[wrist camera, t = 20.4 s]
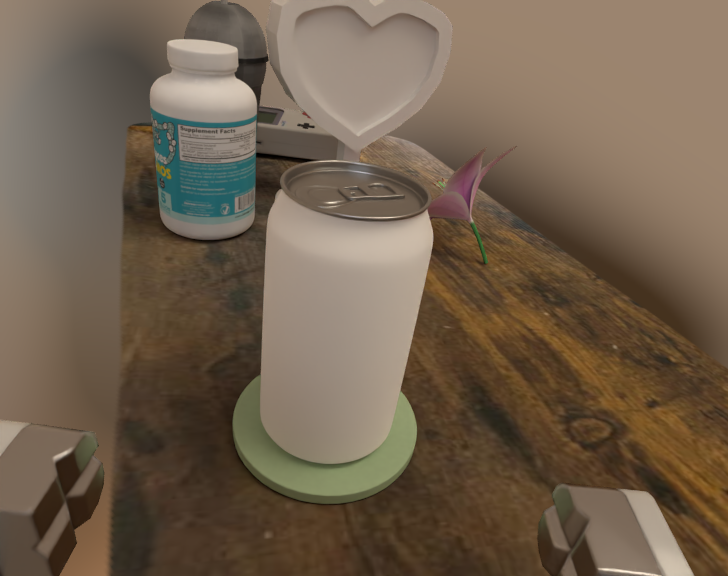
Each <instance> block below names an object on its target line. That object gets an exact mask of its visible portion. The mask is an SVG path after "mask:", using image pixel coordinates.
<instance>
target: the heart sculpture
mask: <svg viewBox="0 0 728 576" xmlns="http://www.w3.org/2000/svg"><path fill="white" fill-rule="evenodd" d="M452 27H453V26H452V25H451V23H450V21H449V20H448V18H447V17H446V15H445V14H444V13H443V12H442V11H440V10H439V9H437V8H435V7H434V6H432V5H431V4H429V3H427V2H424V1H422V0H272V1H271V3H270V9H269V14H268V20H267V26H266V33H267V41H268V49H269V58H270V64H271V66H272V68H273V70H274V72H275V74H276V76H277V78H278V79H279V81H280V83H281V85H282V86H283V89H284V91H285V93H286V94H287V95H288V96H289V97H290V98H291V99H292V100H293V101H294V102H295V103H296V104H297V105H298V106H299V107H300V108H301V109H302V110H303V111H304V112H305V113H306V114H307V115H308V116H309V117H310V118H311V119H312V120H314V121H315V122H316V123H317V124H318V125H319V126H320V127H322V128H323V129H324V130H326V131H327V132H329V133H330V134H332V135H333V136H335V137H336V138H337V139H338V148H337V157H336V160H347V161H357V162H359V160H360V153H361V150H362V149H363V148H364V147H366V146H367V145H369V144H370V143H372V142H374V141H376V140H377V139H379V138H381V137H382V136H384V135H386V134H387V133H389V132H391V131H393V130H394V129H396V128H397V127H399V126H400V125H401V124H403V123H404V122H405V121H406V120H407V119H409V118H410V117H411V116H413V115H414V114H415V113H417V112H418V111H419V110H420V109H421V108H422V107H423V105H424V104H425V102H426V101H427V100H428V99H429V97H430V96H431V95H432V93H433V92H434V90H435V89H436V87H437V86H438V85H439V84H440V82H441V79H442V76H443V73H444V70H445V67H446V64H447V61H448V58H449V55H450V52H451V41H452ZM281 190H282V189H279V191H278V192H277V194H276V196H275V200H276V199H277V197H278V196H279V194H280V192H281Z"/></svg>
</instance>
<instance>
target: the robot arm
mask: <svg viewBox="0 0 728 576" xmlns="http://www.w3.org/2000/svg"><path fill="white" fill-rule="evenodd" d="M98 446H99V445H98V442H97V438H96V434H95V432H90V431H83V430H76V429H68V428H61V427H54V426H47V425H39V424H32V423H23V422H15V421H7V420H0V576H59V575H60V573H61V572H62V570H63V567H64V566H65V564H66V562H67V561H68V559H69V557H70V555H71V553H72V551H73V549H74V548H75V546H76V544H77V542H76V537H75V531H74V530H75V529H76V528H77V527H79V526H80V525H82V524H83V523H84V522H86V521H87V520H89V519H90V518H91V516H92V514H93V512H94V510H95V508H96V506H97V504H98V502H99V499H100V495H101V492H102V489H103V485H104V470H103V464H102V462H101V461H99V460H98V459H97V458H96V457H95V456H94V455H93V454H94V452H95V451H96V449H97V447H98ZM552 498H553V501H554V504H555V505H554V506H552V507H550V508H548V509H547V510H545V511H544V512H543V514H542V517H541V519H540V521H539V526H538V537H537V539H538V548H539V554H540V558H541V562H542V566H543V567H544V568H545V569H546V570H547V571H548V573H549V574H550V575H551V576H694V574H693V573H692V571H691V569H690V567H689V565H688V563H687V561H686V559H685V557H684V555H683V553H682V551H681V550H680V548H679V546H678V544H677V542H676V540H675V538H674V536H673V534H672V532H671V530H670V528H669V526H668V525H667V523H666V521H665V519H664V517H663V515H662V513H661V511H660V509H659V507H658V505H657V503H656V502H655V500H654V498H653V497H652V496H651V495H650V494H649V493H648V492H644V491H635V490H626V489H616V488H613V487H603V486H592V485H582V484H571V483H561V484H559V485H558V486H556V488H555V490H554V492H553V494H552Z"/></svg>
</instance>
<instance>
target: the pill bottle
mask: <svg viewBox="0 0 728 576" xmlns="http://www.w3.org/2000/svg"><path fill="white" fill-rule="evenodd" d="M167 54H168V55H167V57H168V61H169V65H170V66H171V67H172V72H171V73H170V74H166V75H164V76H162V77H160V78H158V79H157V80H156V81H155V83H154V84H153V85H152V88H151V90H150V106H151V117H152V128H153V139H154V150H155V161H156V172H157V184H158V196H159V207H160V216H161V219H162V221H163V223H164V225H165V226H166V227H167V228H168V229H169V230H171V231H172V232H174V233H176V234H178V235H181V236H184V237H187V238H192V239H199V240H220V239H226V238H230V237H234V236H237V235H239V234H241V233H243V232H245V231H246V230H247V229H248V228H249V227H250V226H251V225H252V223H253V221H254V217H255V178H256V128H257V100H256V97H255V94H254V92H253V91H252V89H251V88H250V87H249V86H248V85H247V84H245V83H244V82H243V81H241V80H239V79H237V78H236V77H235V74H234V72H236V71H237V67H238V66H239V65H238V50H237V48H236V47H234V46H231V45H228V44H224V43H220V42H214V41H206V40H194V39H180V40H172V41H169V42H168V43H167Z"/></svg>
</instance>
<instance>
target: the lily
mask: <svg viewBox="0 0 728 576" xmlns="http://www.w3.org/2000/svg"><path fill="white" fill-rule="evenodd" d="M515 147H517V146H515ZM515 147H513V148H512V149H509V150H508V151H506V152H505V153H503V154H501V155H500V156H498V157H497V158H496V159H494V160H492V161H491V162H490V163H489V164H487V165H486V166H485V167H484V168H481V165H482V159H483V154H484V152H485V150H486V147H485V148H484V149H483V150H481V151H480V152H478V153H477V154H476V155H475V156H473V157H472V158H471V159H470V160H468V161H467V162H466V163H465V164H463V165H462V166H461V167H460V168H459V169H458V170H457V171H456V172H455V173H454V174H453V175H452V177H451V178H450V179H449V180H448V182H447V184H445V182H444V180H443V178H442V180H443V182H444V184H445V185H446V186H444V185H443V184H442V183H441V182H440V181H439V180H438V181H437V182H439V183H440V184H441V185H442V186H443V187H444V191H443V194H442V195H440V196H438V197H437V198H435V199H434V200H432V201H431V204H430V206H429V208H428V209H427V210H428V215H429V216H432V217H429V218H430V220H431V219H432V218H446V219H462V220H467V221H468V222H469V223H470V225H471V227H472V229H473V231H474V233H475V236H476V238H477V241H478V244H479V247H480V250H481V253H482V257H483V260H484V263H485V264H486V263H488V261H487V257H486V254H485V250H484V247H483V244H482V241H481V238H480V236H479V233H478V231H477V228H476V226H475V224H474V222H473V220H472V217H471V211H472V205H473V201H474V197H475V194H476V191H477V188H478V185H479V183H480V181H481V179H482V178H483V176H484V175H485V174H486V172H487V171H488V170H489V169H490V168H491V167H492V166H493V165H494V164H495V163H497V162H498V161H499V160H500V159H501V158H503V157H504V156H505V155H506V154H508V153H509V152H510V151H511V150H513V149H514V148H515ZM432 184H434V183H432ZM434 185H437V184H434ZM437 186H438V187H439V188H440V189H442V188H441V187H440V186H439V185H437ZM442 190H443V189H442Z"/></svg>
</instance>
